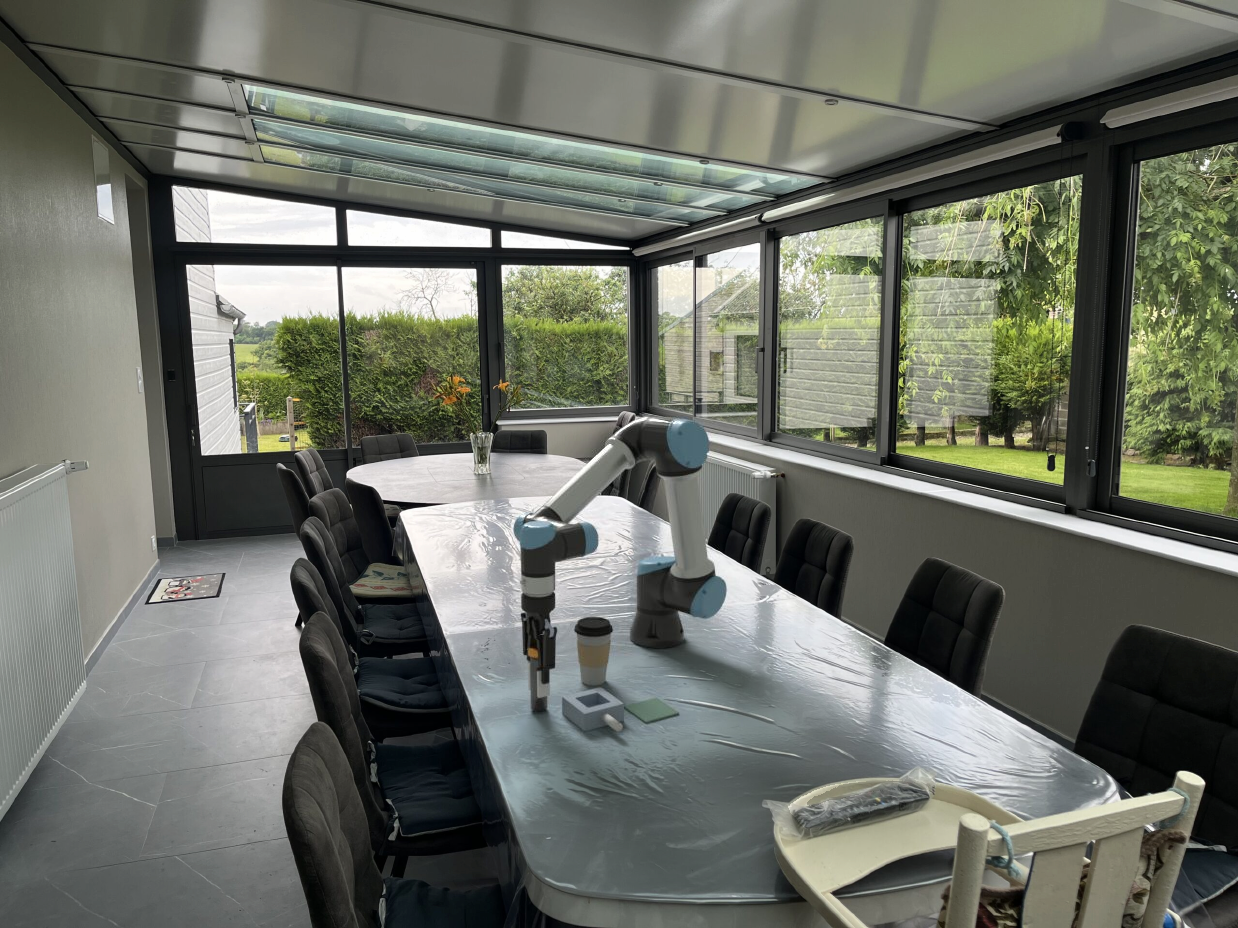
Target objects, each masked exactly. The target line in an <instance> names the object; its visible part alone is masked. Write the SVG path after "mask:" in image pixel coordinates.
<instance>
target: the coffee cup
mask: <svg viewBox="0 0 1238 928" xmlns="http://www.w3.org/2000/svg"><path fill="white" fill-rule="evenodd" d="M573 631H574V633H576V639H577V640H576V646H577V658H578V663H579V672H580V681H581V683H583V684H585V685H587V686H601V685H603V684H604V683H606V679H607V678H606V677H607V670H608V664H609V658H610V652H611V651H610V650H611V637H612V636H611V635H612V634H613V631H614V628H613V625H612V624H611V622H610V620H609V619H607V618H605V617H600V616H588V617H582V618H580V619H578V620H577V623H576V624H575V626H574V629H573Z"/></svg>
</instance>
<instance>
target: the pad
mask: <svg viewBox="0 0 1238 928" xmlns="http://www.w3.org/2000/svg"><path fill="white" fill-rule="evenodd" d="M624 710H626V711H627V712H629V713H631V714H632V715H633V716H635V717H636V718H637V719H638V720H640V721H642V722H643V723H645V724H649V723H653V722H656V721H660V720H663V719H666V718H670V717H673V716H679V715H680V712H679V711H677V710H676V709H674V708H673V707H672V706H670V705H669V704H667V703H666V702H664V701H662V700H661V699H660V698H658V697H653V698H649V699H645V700H642V701H639V702H635V703H630V704H626V705H624Z"/></svg>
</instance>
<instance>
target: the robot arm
mask: <svg viewBox="0 0 1238 928" xmlns="http://www.w3.org/2000/svg"><path fill="white" fill-rule="evenodd" d="M709 452H710V438H709V435H708V433H707V431H706V429H705V428H704V427H703V425H702V424H700V423H699V422H697V421H695V420H693V419H688V418H685V417H672V416H671V417H670V416H663V415H662V416H661V415H660V416H659V415H653V414H651V415H644V416H640V417H638V418H636V419H633V420H632V421H630V422H628V423H626V424H625V425H623V426H622V427H621V428H620V429H618V430H616V431H615V433H613V434H612V435H611V436H610V437H609V438H608V439H607V440H606V441H605V443H604V448H603V449H602V450H601V451H599V452H598V453H597V454H596V455H595V456H594V457H593V458H592V459H591V460H590V461H589V462H588V463H586V464H585V465H584V466H583V467H582V468H580V470H579V471H578V472H577V473H576V474H575V475H573V477H572V478H570V480H568V482H566V483H565V484H564V485H563V486H562V487H560V488H559V490H557V492H555V493H554V494H553V495H552V497H550V498H548V499H547V501H546V502H545V503H543V504H542V506H541V507H539V509H537V510H536V511H534V512H525V513H521V514H519V516H518V517H517V518H516V519H515V521H514V523H513V535H514V537H515V539H516V540H517V541H518V542H519V549H520V554H519V555H520V580H519V584H520V587H521V588H520V590H521V592H522V593H521V594H520V608H521V609H522V610H521V611H522V612H521V613H520V620H521V630H522V634H521V635H522V654H523V656H524V657H525V656H526V660H527V664H528V666H527V672H528V674H527V678H528V690H529V691H530V656H529V655H528V648H529V647H530V646H534V645H537V650H538V661H539V668H536V670H537V697H538V698H541V697H545V696H547V697H548V696H550V694H551V693H550V691H551V689H550V688H551V686H550V685H551V684H550V681H551V679H550V676H551V674H550V672H551V671H550V670H553V669H556V648H557V647H556V646H557V645H556V643H557V642H556V641H557V640H556V637H557V634H558V628H557V627H556V626H552V623H551V622H552V621H551V616H550V613H551V612H552V611H554V610H555V608H556V593H555V591H556V563H560V562H562V561H568V560H573V559H576V558H584V557H585V556H587V555H590V554H593V553H594V552H595V551H597V549H598V546H599V541H600V540H599V534H598V531H597V528H596V527H595V526H594V525H593V524H592V523H590V522H586V521H585V522H577V523H571V522H572V521H573V520H574V519H575V518H576V517H577V516H578V515H579V514H580V513H581V512H582V511H583V510H584V509H585V508H586V507H587V506H588V505H590V503H592V501H594V499H596V498H597V497H598V496H599V495H600V494H601V493H602V492H603V491H604V490H605V489H606V488H608V486H610V484H611V483H613V481H614V480H615V479H616V478H617V477H619V475H620V474H621V473H623V472H624V471H625V470H630V469H631V470H632V469H633V468H634V467H635V465H637V464H638V463H640V462H644V461H649V462H650V461H651V462H654V463H655V469H656V470H655V471H656V474H657V476H658V477H660V478H662V480H663V485H664V491H665V498H666V504H667V506H666V507H667V513H668V521H669V527H670V534H671V542H672V548H673V556H669V555H668V556H667V555H666V556H665V555H663V556H653V557H652V556H651V557H647V558H644V559H642V560H640V561H639V562H638V564H637V571H636V572H637V573H636V612H635V615H634V618H633V620H632V624H631V627H630V629H629V638H630V641H631V642H632V643H634V644H636V645H638V646H640V647H644V648H645V647H646V648H650V649H652V648H655V649H662V648H663V649H666V648H672V647H675V646H679V645H681V644H682V643H683V642H684V641H685V632H684V628H683V624H682V621H681V617H680V613H682V614H683V613H684V614H687V615H689V616H692V617H693V618H700V619H706V620H708V619H710V618H712V617H714V616H716V615H717V614H718V612H720V610H721V608H722V606H723V604H724V603H725V600H726V598H727V591H728V589H727V583H726V581H725V579H723V578H722V577H721V576H718V575H716V568H715V563H714V562H713V561H712V560H711V559H710V558H708V550H707V542H706V535H705V534H706V533H705V527H704V519H703V517H704V516H703V511H702V502H701V501H702V500H701V493H700V487H699V479H698V477H699V476H698V475H699V473H700V472H701V471H702V469H703V464H704V463H705V462H706V461H707V459H708V457H709V456H708V453H709Z"/></svg>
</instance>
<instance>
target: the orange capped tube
mask: <svg viewBox="0 0 1238 928" xmlns="http://www.w3.org/2000/svg"><path fill="white" fill-rule="evenodd" d="M528 655H529V656H530V690H529V691H530V710H532V711H534V712H543V711H546V710H547V709H548V702H549V701H548V696H545V697H541V698H538V697H537V670H536V668H539V661H538V650H537V645H534V646H530V647H529V648H528Z"/></svg>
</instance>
